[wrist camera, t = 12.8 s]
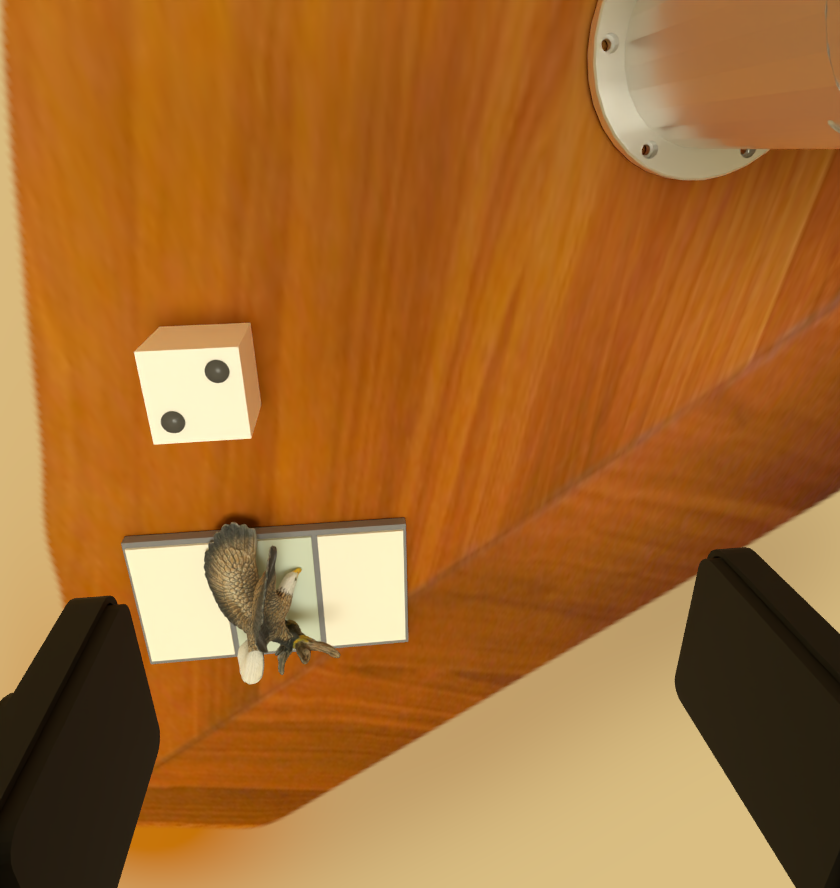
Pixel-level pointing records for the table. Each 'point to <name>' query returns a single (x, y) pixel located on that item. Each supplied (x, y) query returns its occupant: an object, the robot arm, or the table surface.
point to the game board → (315, 595)
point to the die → (199, 382)
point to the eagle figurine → (255, 601)
